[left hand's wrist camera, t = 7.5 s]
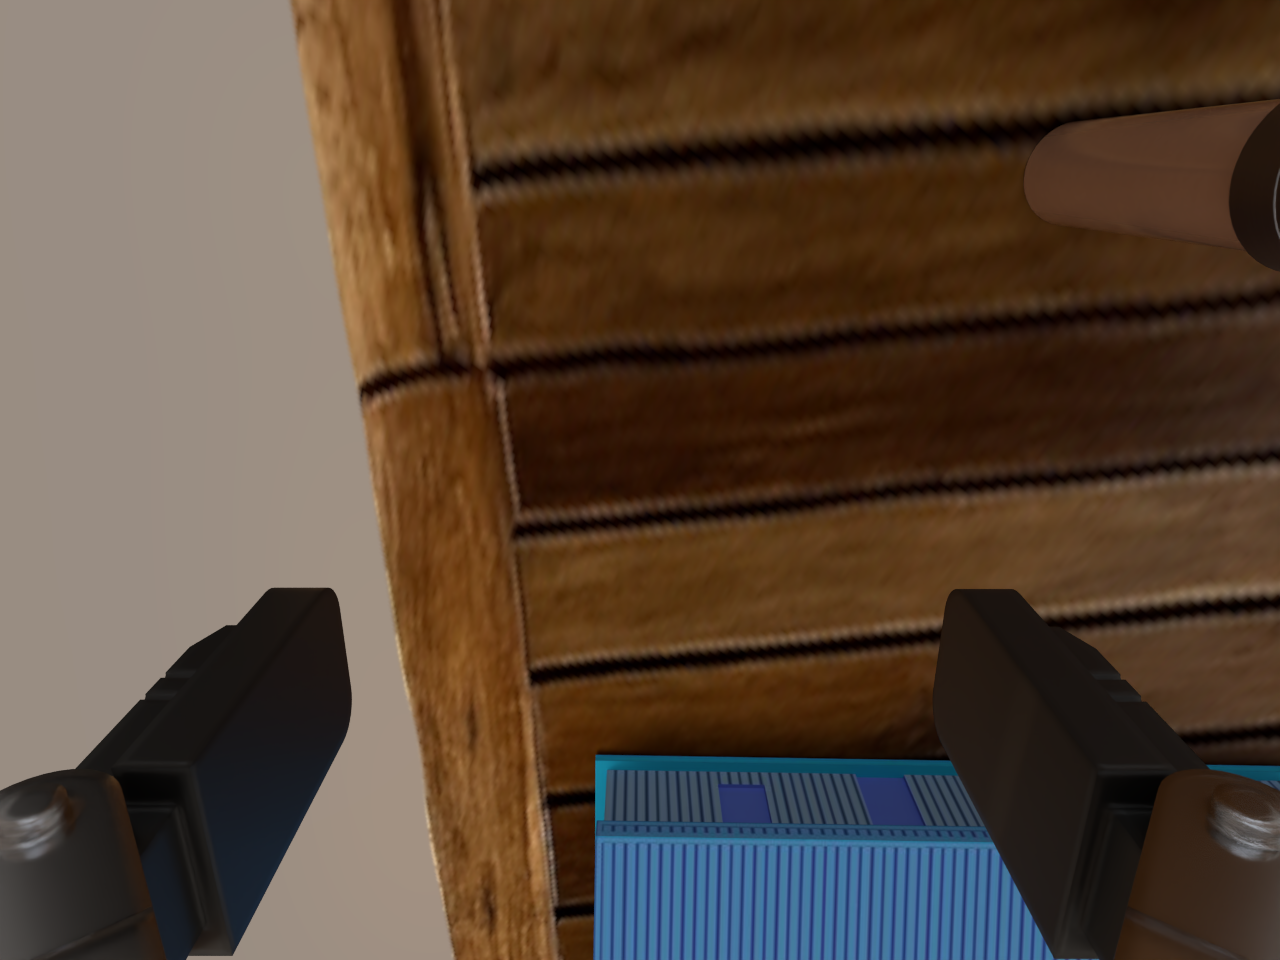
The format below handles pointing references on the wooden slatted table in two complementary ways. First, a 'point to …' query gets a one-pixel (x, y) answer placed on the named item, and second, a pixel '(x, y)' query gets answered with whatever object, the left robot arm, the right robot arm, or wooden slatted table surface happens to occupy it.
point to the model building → (803, 862)
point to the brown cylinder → (1145, 173)
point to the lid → (1259, 193)
